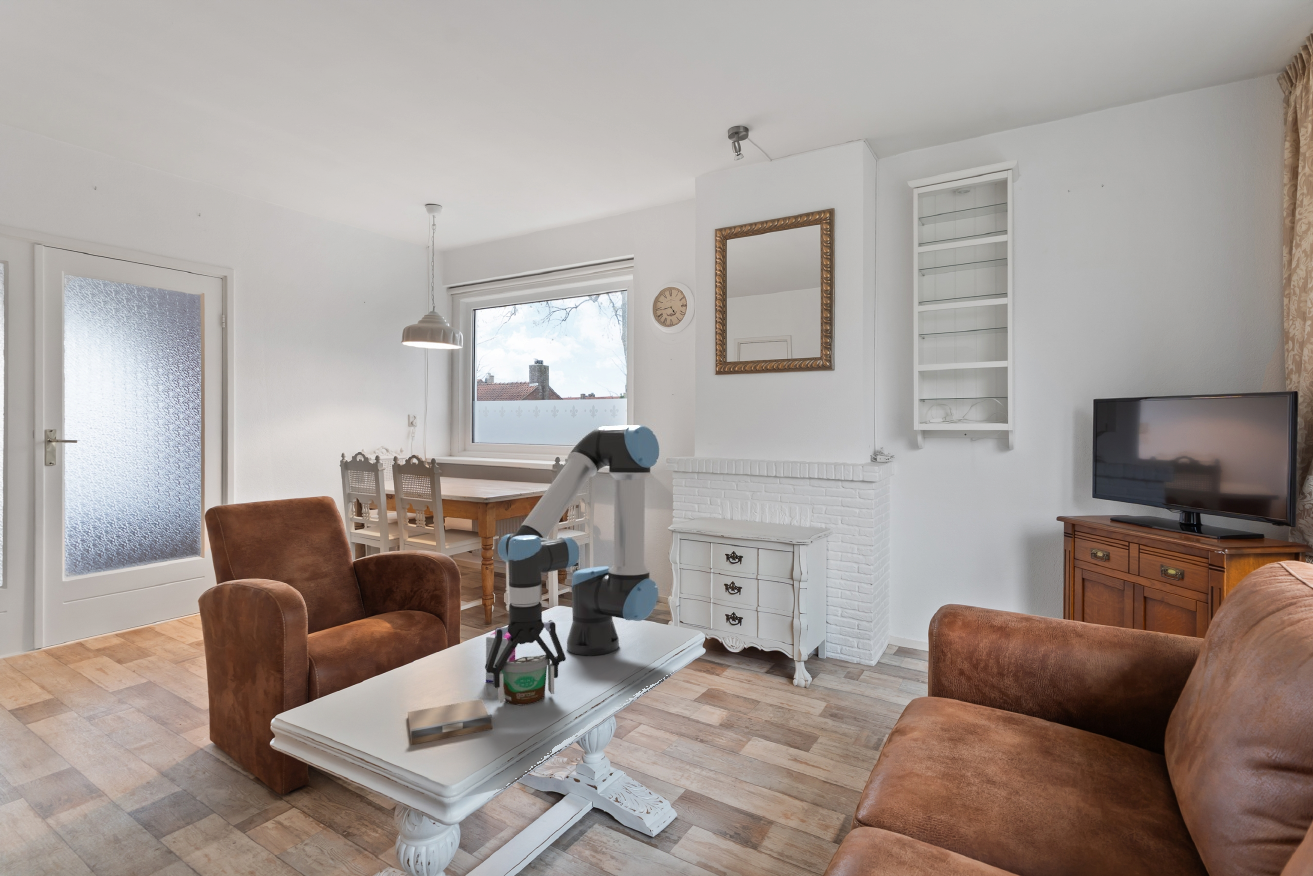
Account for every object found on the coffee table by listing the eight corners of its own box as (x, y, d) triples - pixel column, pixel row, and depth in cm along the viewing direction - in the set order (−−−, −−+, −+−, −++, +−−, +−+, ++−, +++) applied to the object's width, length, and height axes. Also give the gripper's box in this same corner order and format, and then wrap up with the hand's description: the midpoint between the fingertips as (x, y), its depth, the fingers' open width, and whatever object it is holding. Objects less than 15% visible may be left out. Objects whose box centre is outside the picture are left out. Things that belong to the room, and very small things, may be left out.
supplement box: (507, 684, 162) (506, 638, 162) (485, 682, 163) (484, 637, 163) (516, 675, 168) (515, 631, 168) (495, 674, 169) (494, 630, 169)
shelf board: (481, 704, 150) (481, 692, 150) (492, 729, 137) (491, 716, 137) (407, 717, 143) (407, 705, 143) (411, 745, 130) (411, 731, 130)
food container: (505, 711, 146) (504, 667, 146) (498, 701, 151) (497, 659, 151) (557, 700, 151) (556, 657, 151) (549, 691, 157) (548, 650, 157)
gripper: (569, 593, 159) (570, 682, 159) (471, 604, 150) (472, 699, 150) (578, 600, 152) (579, 693, 152) (476, 612, 143) (477, 711, 143)
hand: (526, 696), depth 151 cm, fingers closed on food container, 11 cm apart
